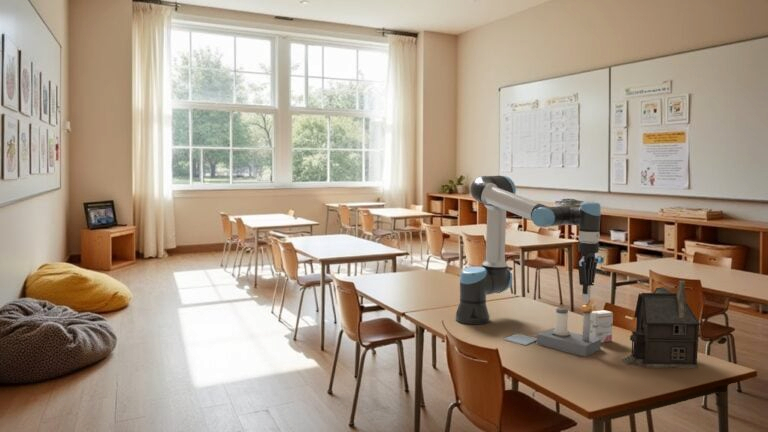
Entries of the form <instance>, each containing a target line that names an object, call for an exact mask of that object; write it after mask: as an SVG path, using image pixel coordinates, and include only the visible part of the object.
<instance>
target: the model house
mask: <svg viewBox="0 0 768 432" xmlns="http://www.w3.org/2000/svg"><path fill="white" fill-rule="evenodd" d="M685 283H686V281H685V280H678V289H677V292H675V291H672V290H671V289H668V288H666V287H663V286H661V287H656V288H655V290H654V291H653V292H641V293H639V292H638V296H637V301H636V306H635V311H634V316H633V317H634V318H636V321H635V323H636V326H635V327H636V328H635V331H631V333H632V334H631V335H630V336H629V340H630V341H631V354H629V356H628V355H627V356H626V357H624V358H622V359H621V360H622V361H623V363H624V364H626V365H634V366H643V367H644V368H673V369H675V368H683V369H685V368H687V369H689V368H690V369H691V368H692V369H698V366H699V365H698V353H699V352H698V350H699V349H698V348H699V342H700V340H699V333H700V331H699V330H700V325H701V323H700V322H699V320H698V319H697V318H696V316H695V314H694V312H693V311H692V309H691V307H690V306H689V305H688V303H687V296H686V291H685Z"/></svg>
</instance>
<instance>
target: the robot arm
mask: <svg viewBox="0 0 768 432" xmlns="http://www.w3.org/2000/svg"><path fill="white" fill-rule="evenodd" d="M469 189H470V195H471V197H472V198H473V199H474V200H475V201H476V202H479V203H481V204H483V205H484V207H485V208H486V211H487V212H486V237H485V239H486V240H485V242H486V243H485V260H484V261H483V262H482V263H481V266H471V267H470V266H469V267H466V268H463V269H461V271H460V274H459V275H460V276H459V305H458V307H457V309H456V313H455V321H457V322H458V323H463V324H465V325H466V324H467V325H483V324H487V323H489V322H490V320H491V319H490V317H491V316H490V314H489V309H488V306H487V296H488V295H494V294H501V293H503V292H506V291H508V290H509V289H510V287H511V286H512V284H513V279H514V278H513V274H512V272H511V269H510V268H508V267H509V265H508V263H507V262H506V261H505V260H506V257H505V255H506V235H507V234H506V233H507V232H506V230H507V212H509V213H512V214H515V215H517V216H519V217H521V218H524V219H527V220H528V221H531V222H532V223H533V224H534V225H535V226H536V227H538V228H548V227H554V226H555V227H557V226H566V225H567V226H569V225H570V226H578V241H579V242H578V243H577V244H578V245H577V246H578V247H577V251H578V252H579V253H581V256H580V260H577V262H576V264H577V266H578V267H577V268H578V281H579V285H580V286H582V289H581V290H582V293H581V302H583V303H586V304H587V303H588V302H589V301H590V300H591V292H592V291H591V288H592V286H594V285H595V284H594V283H595V279H596V278H595V277H596V272H597V266H598V263H599V258H598V257H597V258H596V254H597V253H599V251H600V243H599V242H600V237H601V235H600V231H601V228H600V226H601V216H602V213H601V209H602V208H601V204H600V203H599V202H594V201H592V202H590V201H589V202H588V201H583V202H581V203H580V204H579V205H580V206H574V205H573V206H571V205H565V204H562V205H561V204H560V205H555V206H549V205H545V204H542V203H540V202H537V201H534V200H533V199H532V200H531V199H530V198H527V197H524V196H521V195H518V194H516V192H517V189H516V185H515V182H514V181H513V180H512V178H510V177H508V176H504V175H481V176H479V177H476V178H475V179H474V180H473V181H472V182H471V184H470V188H469Z"/></svg>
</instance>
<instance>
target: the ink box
mask: <svg viewBox="0 0 768 432" xmlns="http://www.w3.org/2000/svg"><path fill="white" fill-rule="evenodd" d="M613 321H614V313H613V312H612V311H609V310H605V309H603V310H596V311H593V310H592V313H590V334H589V336H590V337H594V338H598V339H601V343H608V342H612V340H613V325H614V324H613Z"/></svg>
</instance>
